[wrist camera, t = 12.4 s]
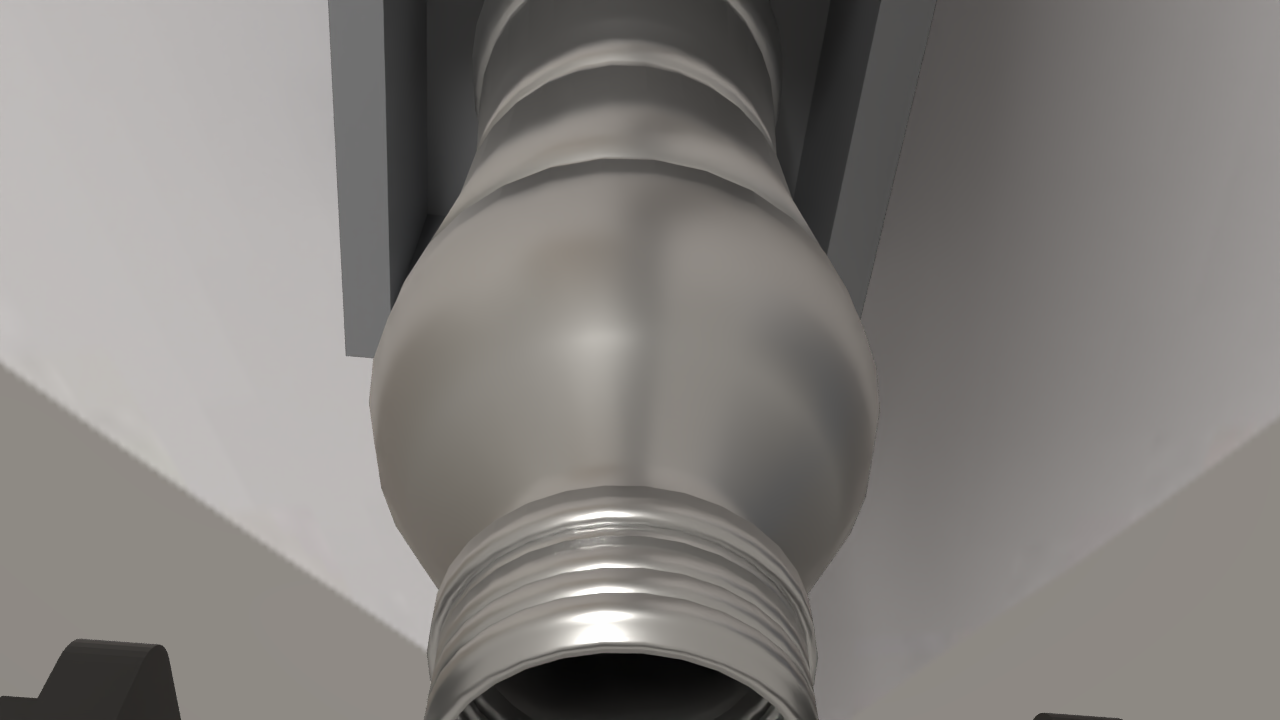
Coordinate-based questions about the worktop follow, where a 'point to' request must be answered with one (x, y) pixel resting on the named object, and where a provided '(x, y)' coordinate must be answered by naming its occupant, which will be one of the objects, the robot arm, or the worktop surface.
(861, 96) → the storage caddy
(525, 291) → the plastic bottle
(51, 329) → the worktop surface
